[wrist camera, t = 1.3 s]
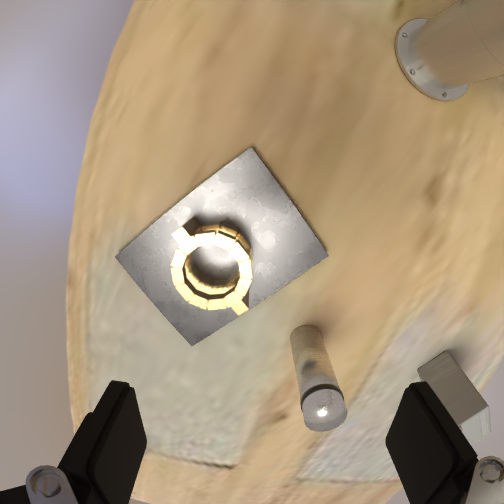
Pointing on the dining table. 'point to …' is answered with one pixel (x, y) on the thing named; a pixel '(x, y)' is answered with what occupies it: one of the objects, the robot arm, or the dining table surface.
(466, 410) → the skincare box
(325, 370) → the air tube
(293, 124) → the dining table surface
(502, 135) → the dining table surface
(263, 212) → the collar stand
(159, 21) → the dining table surface
